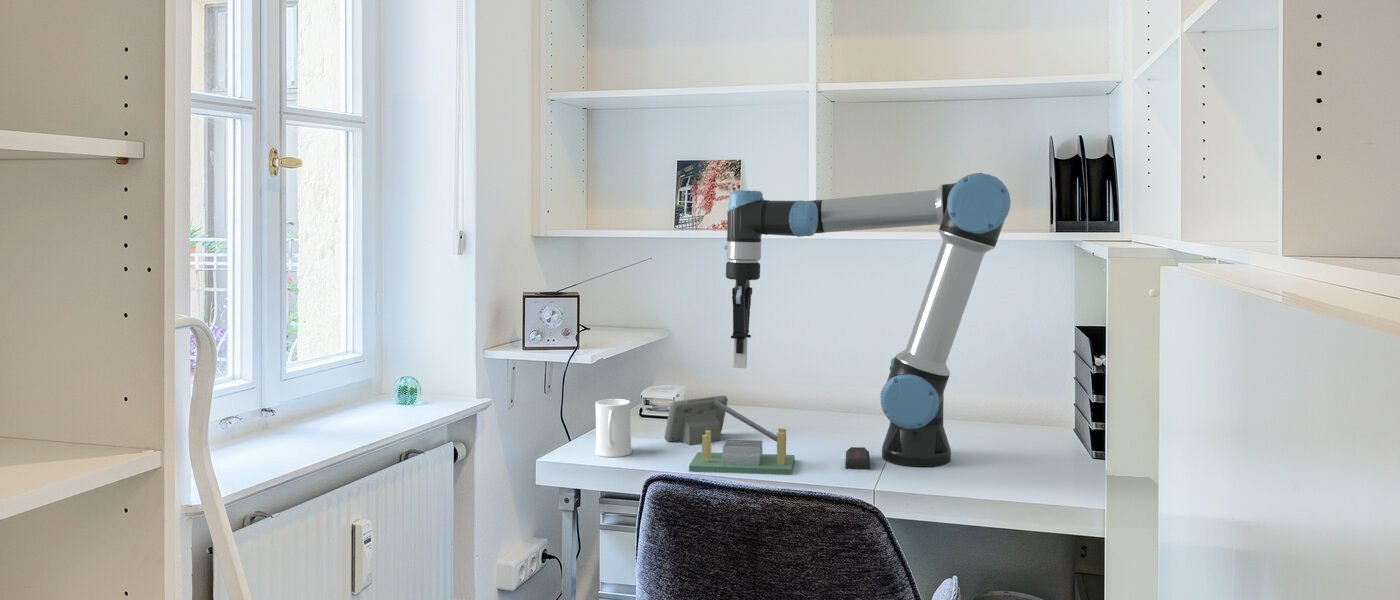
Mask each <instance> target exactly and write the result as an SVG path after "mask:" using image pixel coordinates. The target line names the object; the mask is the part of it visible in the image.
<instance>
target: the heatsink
mask: <svg viewBox="0 0 1400 600" xmlns="http://www.w3.org/2000/svg"><path fill="white" fill-rule="evenodd" d="M725 440H726V441H725V442H724V444H723V446H722V453H723V455H722V464H724V465H754V466H759V465H760V462H761V459H762V457H763V454H764V452H763V451H764V450H763V440H758V439H731V438H730V439H728V438H727V439H725Z"/></svg>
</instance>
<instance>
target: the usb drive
mask: <svg viewBox="0 0 1400 600" xmlns="http://www.w3.org/2000/svg"><path fill="white" fill-rule="evenodd" d="M870 457H871V455H870V451H869V450H868V449H867V448H865V447H858V446H857V447H856V446H851V447H849V448H848V449H847V450H846V451H845V465H844V466H845V470H857V471H858V470H863V471H864V470H865V471H871V462H870V461H871V460H870V459H871V458H870Z"/></svg>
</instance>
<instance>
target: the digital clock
mask: <svg viewBox="0 0 1400 600" xmlns="http://www.w3.org/2000/svg"><path fill="white" fill-rule="evenodd" d="M715 400H717V401H719V402H721V403H722V404H724V405H726V406H727V407H728V396H726V395H715V396H712V395H711V396H703V397H695V398H688V399H687V398H686V399H679V400H673V401H671V403H670V405H669V409H668V415H667V421H666V427H665V433H664V440H665V441H667V442H677V441H679V442H681V443H683V444H685V443H686V444H685V445H689V446H690V445H691V444H692V445H698V443H699V444H702V435H705V431H711V441H713V442H718V441H721V433H722V431H723V426H724V421H725V416H726V413H727V412H726V411H724V410H722V409H720V408H719V407H717V406H715V405H714V404H713V403H714V401H715Z"/></svg>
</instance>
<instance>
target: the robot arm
mask: <svg viewBox="0 0 1400 600" xmlns="http://www.w3.org/2000/svg"><path fill="white" fill-rule="evenodd" d="M727 205H728V206H727V211H726V212H727V216H726V217H727V218H726V219H727V221H726V222H727V223H726V225H727V226H726V227H727V229H726V230H727V231H726V245H724V246H723V249H724V250H725V251H726V259H727V260H729V261H727V262H726V263H725V278H726V279H729V280H735V285H734V287H732V290H731V294H732V296H731V299H732V334H731V335H730V338H731V339H733V342H734V343H733V365H732V366H733V368H737V369H747V366H748V365H747V361H748V358H747V357H748V338H752V337H751V336H752V334H749V333H750V316H751V314H750V313H751V305H752V304H751V303H752V295H753V287H751V284H750V282H751V281H757V280H760V278H761V264H760V262H759V261H760V260H762V235H764V236H766V235H767V236H768V235H770V236H784V237H785V236H786V237H789V236H790V237H799V238H801V237H812V236H814V235H815V234H825V233H837V232H852V231H865V230H867V231H868V230H879V229H891V228H893V229H894V228H905V227H906V228H907V227H910V228H911V227H921V226H935V225H938V226H939V229H938V233H939V234H940V237H941V238H942V243H941V245H940V248H939V251H938V254H937V255H938V256H937V258H936V261H935V263H934V266H933V269H932V272H931V274H930V277H929V280H928V283H927V286H926V290H925V292H924V296H923V298H922V301H921V304H920V308H919V310H918V312H917V316H916V319H915V322H914V324H913V327H912V330H911V332H910V333H911V334H910V337H909V339H908V343H907V344H906V348H905V349H904V350H902V351H901V352H898V353H896V354H895V356H894V357H893V358H891V361H890V366H889V371H890V372H889V374H888V377H887V379H886V382H885V384H884V385H883V386H882V389H881V392H880V397H879V398H880V405H881V410H882V411H883V414H884V415H885V417H886V418H887V419H888V420H889V427H888V428H887V433H886V434H885V438H884V441H883V443H882V446H881V457H882V459H884V460H885V461H886V462H889V463H892V464H896V465H900V466H910V467H936V466H942V465H945V464H948V463H950V462H951V460H952V459H951V458H952V449H951V446H950V443H949V440H948V437H947V433H946V430H945V426H944V401H945V400H944V397H945V396H944V392H945V390H946V386H947V383H948V381H949V378H950V375H951V372H950V370H949V368H948V365H947V362H948V361H947V360H948V358H949V355H950V352H951V350H952V346H953V344H954V341H955V338H956V335H957V332H958V331H959V330H958V329H959V327H960V324H961V322H962V319H963V315H964V313H965V310H966V307H967V305H968V301H969V298H970V296H971V293H972V289H974V288H973V287H974V285H975V281H976V280H977V277H978V272H979V270H980V268H981V265H982V262H983V259H984V256H985V254H986V253H987V252H989V251H991V250H994V249H996V246H997V242H998V241H999V237H1000V234H1001V232H1002V229H1003V226H1004V224H1005V220H1006V219H1007V217H1008V215H1009V212H1010V208H1011V195H1010V192H1009V190H1008V188H1007V186H1006V185H1005V183H1003V181H1002V180H1000V179H999V178H998V177H997V176H994V175H991V174H990V173H989V174H988V173H983V172H974V173H971V174H968V175H966V176H964V177H962V178H960V179H959V180H957V181H956V182H954V183H947V184H945V183H944V184H940V185H939V186H938V188H936V189H930V190H919V191H917V190H916V191H907V192H894V193H885V194H874V195H872V194H871V195H861V196H860V195H859V196H852V197H851V196H849V197H848V196H847V197H841V198H840V197H838V198H837V197H836V198H827V199H817V200H816V199H815V200H768V199H764V196H763V192H762V191H760V190H737V189H736V190H735V189H734V190H731V192H730V193H729V194H728V204H727Z"/></svg>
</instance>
